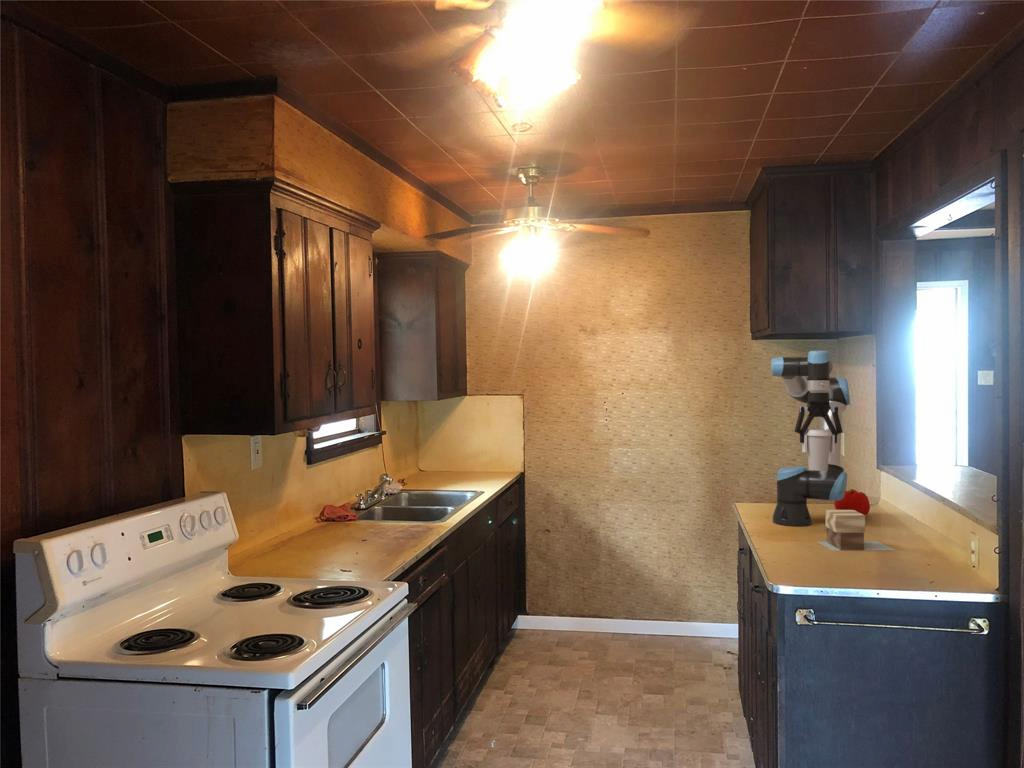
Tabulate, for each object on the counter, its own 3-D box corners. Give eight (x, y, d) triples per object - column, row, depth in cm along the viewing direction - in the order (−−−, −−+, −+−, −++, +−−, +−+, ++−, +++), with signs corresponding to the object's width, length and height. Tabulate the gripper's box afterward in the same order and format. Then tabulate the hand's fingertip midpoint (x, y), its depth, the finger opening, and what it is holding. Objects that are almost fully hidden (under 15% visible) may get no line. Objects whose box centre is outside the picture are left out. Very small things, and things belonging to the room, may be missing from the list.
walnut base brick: (826, 542, 275) (826, 525, 275) (848, 542, 275) (848, 525, 275) (840, 550, 263) (840, 533, 263) (863, 550, 263) (863, 533, 263)
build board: (817, 544, 276) (817, 541, 276) (877, 544, 276) (877, 541, 276) (832, 553, 263) (832, 550, 263) (895, 553, 263) (895, 549, 263)
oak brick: (825, 526, 274) (825, 509, 274) (853, 526, 274) (853, 509, 273) (835, 532, 264) (835, 515, 264) (864, 532, 264) (864, 515, 263)
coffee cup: (834, 471, 276) (834, 430, 276) (806, 470, 278) (806, 430, 278) (829, 468, 285) (830, 429, 285) (802, 467, 288) (803, 428, 288)
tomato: (868, 521, 317) (868, 493, 316) (832, 518, 324) (832, 490, 323) (871, 515, 328) (871, 488, 328) (836, 512, 335) (836, 486, 335)
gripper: (791, 392, 278) (791, 452, 278) (852, 392, 278) (852, 453, 278) (785, 391, 286) (785, 451, 286) (844, 392, 285) (844, 451, 285)
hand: (818, 452), depth 282 cm, fingers closed on coffee cup, 9 cm apart
